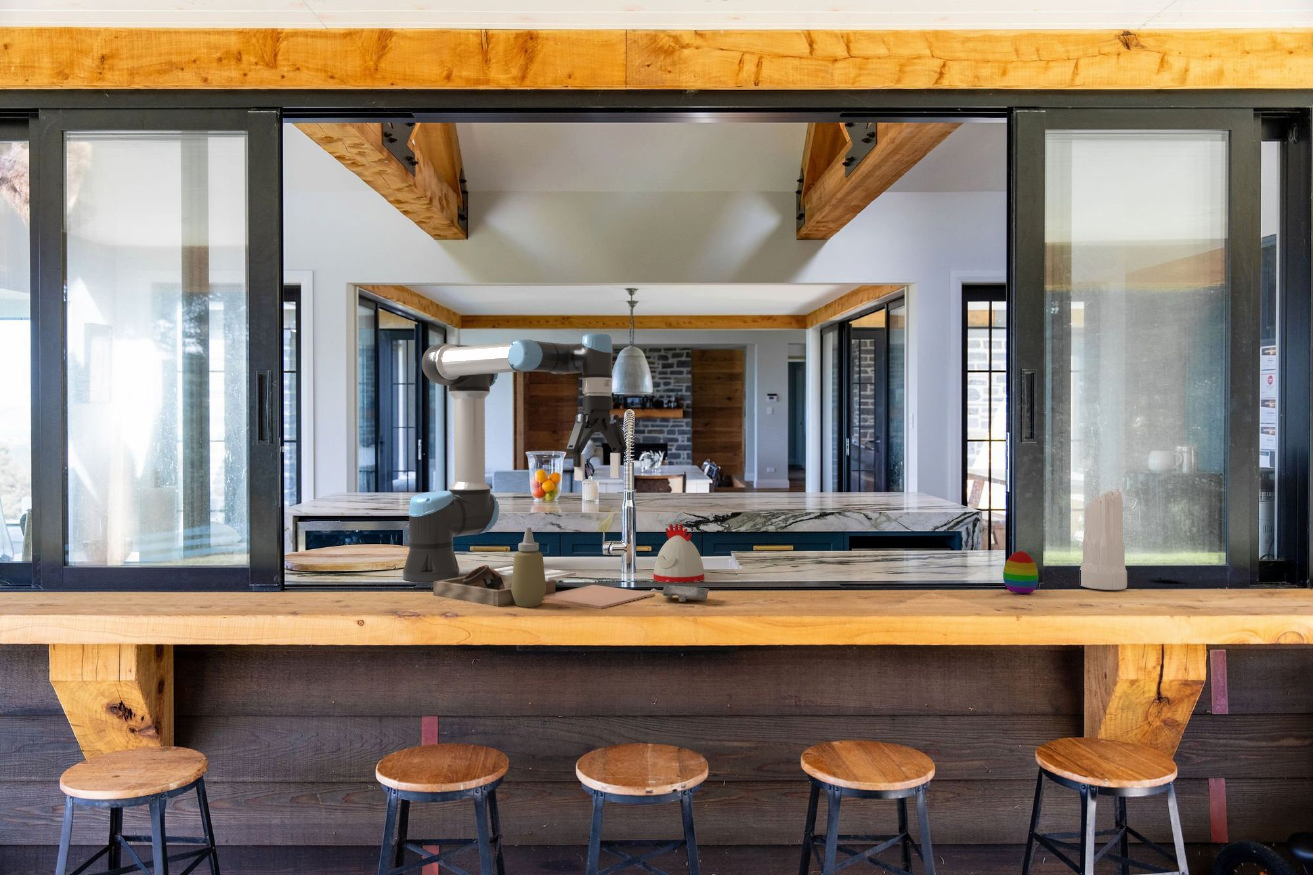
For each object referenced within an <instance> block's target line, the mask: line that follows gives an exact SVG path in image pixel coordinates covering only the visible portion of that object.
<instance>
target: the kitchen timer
mask: <svg viewBox="0 0 1313 875" xmlns="http://www.w3.org/2000/svg"><path fill="white" fill-rule="evenodd" d="M665 532H666V535H667V538H668V540H666V542H665V543H663V545H662V547H660V550H659V551H658V554H657V557H656V561H655V564H654V567H653V580H654V581H657V582H660V583H667V582H693V583H698V582H697V581H699V582H702V581H701V580H703V581H704V580H705V569H704V568H705V567H704V563H703V560H702V556H701V555H700V553H699V550H698V548H697V547H696V545H695V544H694V543H693V542H692V541H691V538H692V535H693V534H692V532H690V533H687V532H688V528H685V529H684V525H683V523H680V524H678V523H675V525H673V523H670V524H669V528H668V527H665ZM687 534H688V535H687Z"/></svg>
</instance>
